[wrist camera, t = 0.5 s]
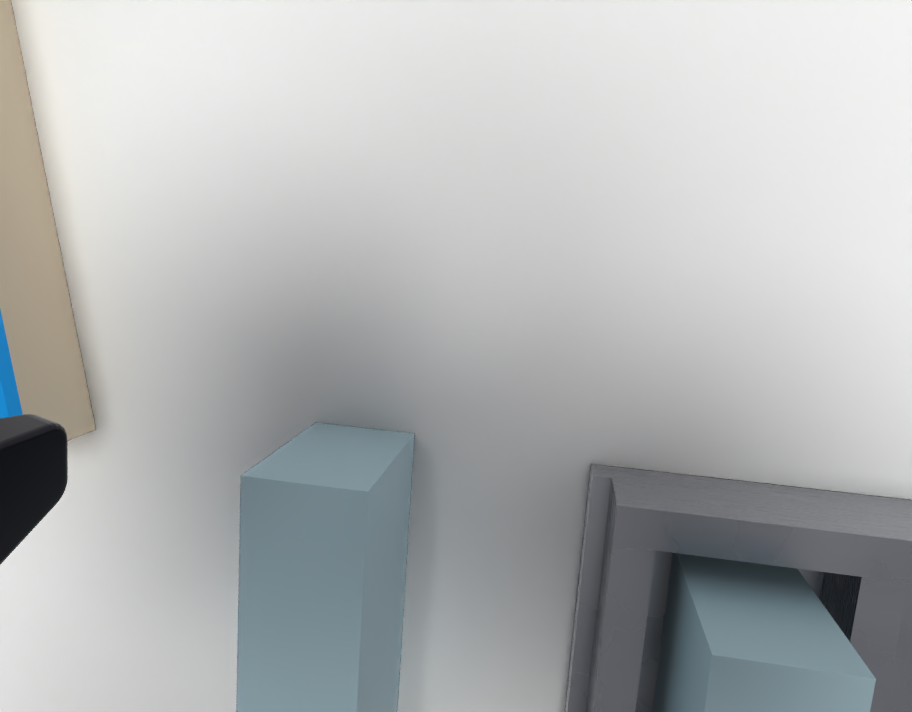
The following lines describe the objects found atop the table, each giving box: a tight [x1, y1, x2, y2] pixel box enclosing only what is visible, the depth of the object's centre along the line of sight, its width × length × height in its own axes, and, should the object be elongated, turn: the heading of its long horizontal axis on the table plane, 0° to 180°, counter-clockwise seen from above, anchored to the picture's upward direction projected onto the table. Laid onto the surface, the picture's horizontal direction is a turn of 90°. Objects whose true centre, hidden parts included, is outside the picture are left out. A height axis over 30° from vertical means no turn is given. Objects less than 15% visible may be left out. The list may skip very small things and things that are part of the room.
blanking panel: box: [236, 422, 415, 712], centre depth 19 cm, size 9×3×5 cm, turn 176°
